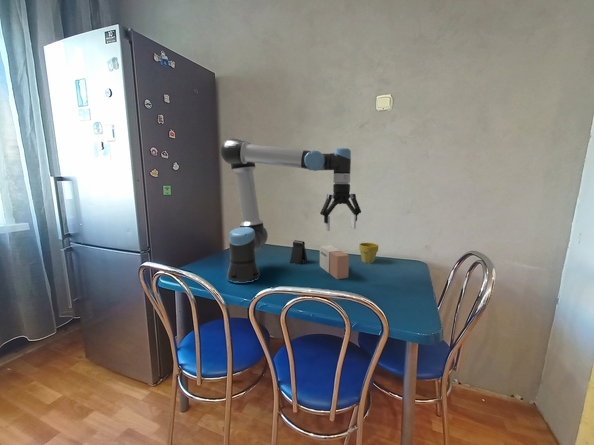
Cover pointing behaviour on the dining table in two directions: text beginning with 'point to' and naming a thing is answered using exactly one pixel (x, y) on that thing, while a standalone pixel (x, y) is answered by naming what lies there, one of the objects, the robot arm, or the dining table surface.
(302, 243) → the black a-frame stand
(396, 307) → the dining table surface
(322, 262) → the white box
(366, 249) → the plant pot
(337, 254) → the salmon pink rectangular block
